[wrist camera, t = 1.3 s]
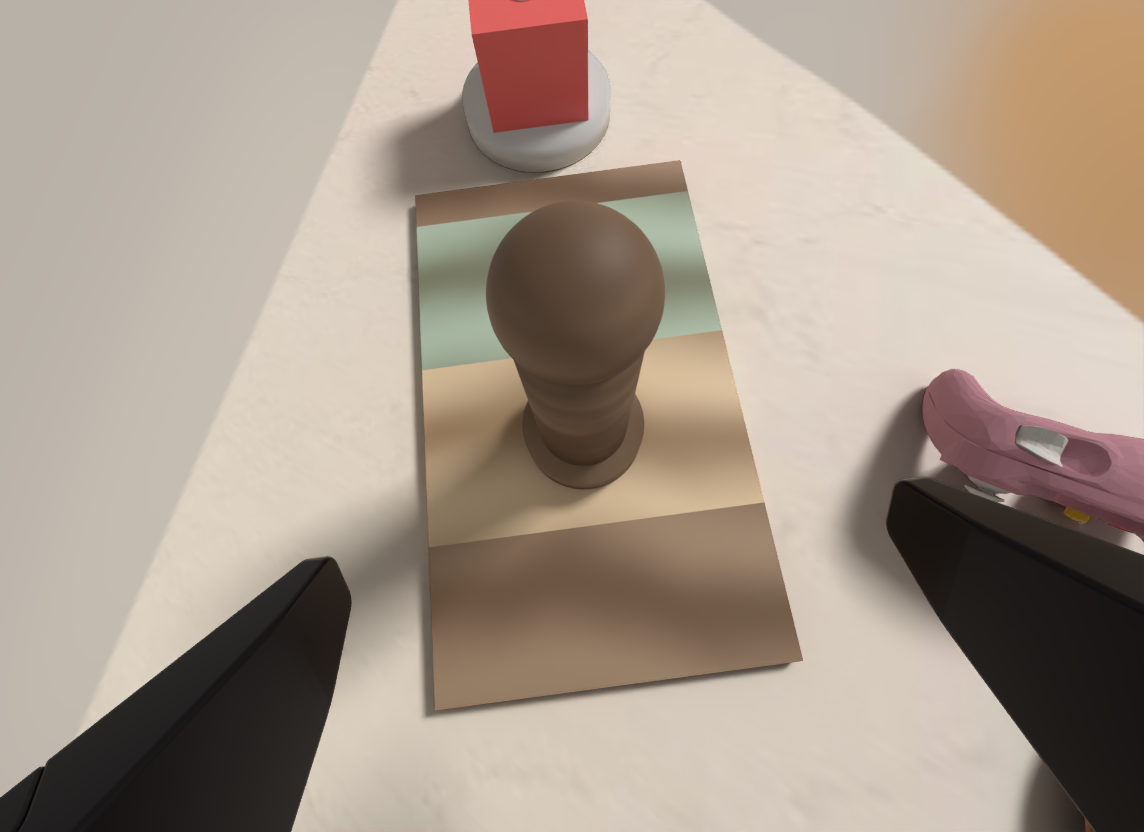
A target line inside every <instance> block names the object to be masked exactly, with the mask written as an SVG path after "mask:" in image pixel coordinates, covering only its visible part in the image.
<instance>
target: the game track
mask: <svg viewBox="0 0 1144 832" xmlns="http://www.w3.org/2000/svg"><path fill="white" fill-rule="evenodd" d="M415 201H416V227H417V253H418V279H419V305H420V332H421V358H422V384H423V410H424V436H425V463H426V489H427V515H428V541H429V567H430V594H431V620H432V646H433V672H434V698H435V710H442V709H450V708H457V707H465V706H472V705H480V704H487V703H494V702H502V701H509V700H517V699H524V698H531V697H539V696H546V695H554V694H561V693H568V692H576V691H583V690H591V689H598V688H606V687H613V686H620V685H628V684H635V683H643V682H650V681H657V680H665V679H672V678H680V677H687V676H695V675H702V674H709V673H717V672H724V671H732V670H739V669H746V668H754V667H761V666H769V665H776V664H784V663H791V662H798V661H803V658H802V654H801V650H800V646H799V642H798V638H797V634H796V630H795V626H794V622H793V617H792V613H791V609H790V605H789V601H788V597H787V593H786V589H785V585H784V581H783V577H782V573H781V569H780V564H779V560H778V556H777V552H776V548H775V544H774V540H773V536H772V532H771V528H770V524H769V520H768V516H767V512H766V507H765V503H764V499H763V495H762V491H761V487H760V483H759V479H758V475H757V471H756V467H755V463H754V459H753V454H752V450H751V446H750V442H749V438H748V434H747V430H746V426H745V422H744V418H743V414H742V410H741V406H740V402H739V397H738V393H737V389H736V385H735V381H734V377H733V373H732V369H731V365H730V361H729V357H728V353H727V349H726V344H725V340H724V336H723V332H722V328H721V324H720V320H719V316H718V312H717V308H716V304H715V300H714V296H713V292H712V287H711V283H710V279H709V275H708V271H707V267H706V263H705V259H704V255H703V251H702V247H701V243H700V239H699V234H698V230H697V226H696V222H695V218H694V214H693V210H692V206H691V202H690V198H689V194H688V190H687V186H686V182H685V177H684V173H683V169H682V165H681V161H680V160H679V161H671V162H664V163H656V164H648V165H641V166H633V167H626V168H618V169H611V170H603V171H596V172H588V173H581V174H573V175H566V176H558V177H551V178H543V179H536V180H528V181H521V182H513V183H506V184H498V185H490V186H483V187H475V188H468V189H460V190H453V191H445V192H438V193H430V194H423V195H415ZM565 201H588V202H593V203H598V204H601V205H604V206H607V207H610V208H612V209H614V210H616V211H618V212H619V213H621V214H623V215H624V216H626V217H627V218H628V219H630V220H631V221H632V222H634V223H635V224H636V225H637V226H638V227H639V228H640V229H641V230H642V231H643V233H644V234H645V235H646V237H647V238H648V239H649V241H650V242H651V244H652V245H653V247H654V249H655V251H656V253H657V256H658V258H659V261H660V263H661V266H662V270H663V275H664V282H665V304H664V311H663V315H662V320H661V322H660V325H659V327H658V330H657V332H656V335H655V337H654V338H653V340H652V342H651V344H650V345H649V346H648V348H647V349H646V350H645V353H644V357H643V362H642V366H641V370H640V375H639V379H638V383H637V388H636V392H635V394H636V396H637V398H638V400H639V402H640V404H641V407H642V410H643V415H644V434H643V439H642V442H641V445H640V448H639V450H638V453H637V456H636V458H635V460H634V462H633V463H632V465H631V466H630V467H629V469H628V470H627V471H626V472H625V473H624V474H623V475H622V476H621V477H619V478H618V479H617V480H615V481H613V482H612V483H610V484H607V485H605V486H602V487H599V488H594V489H573V488H569V487H565V486H563V485H560V484H558V483H556V482H554V481H552V480H551V479H550V478H548V477H547V476H546V475H545V474H544V473H543V472H542V471H541V470H540V469H539V468H538V467H537V465H536V464H535V462H534V460H533V459H532V457H531V455H530V453H529V451H528V448H527V446H526V444H525V440H524V436H523V429H522V421H523V414H524V410H525V407H526V404H527V402H528V399H527V396H526V393H525V390H524V388H523V385H522V382H521V379H520V377H519V374H518V371H517V368H516V366H515V363H514V360H513V359H512V358H511V357H510V356H509V354H508V353H507V352H506V351H505V350H504V348H503V347H502V345H501V344H500V342H499V340H498V339H497V337H496V335H495V333H494V330H493V328H492V326H491V323H490V319H489V315H488V311H487V305H486V281H487V276H488V271H489V267H490V264H491V261H492V258H493V255H494V254H495V252H496V250H497V248H498V246H499V244H500V242H501V241H502V239H503V238H504V237H505V235H506V234H507V233H508V232H509V231H510V230H511V228H512V227H513V226H514V225H516V224H517V223H518V222H519V221H520V220H521V219H523V218H524V217H525V216H527V215H528V214H530V213H531V212H533V211H535V210H537V209H539V208H542V207H544V206H547V205H550V204H554V203H558V202H565Z"/></svg>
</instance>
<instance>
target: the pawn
mask: <svg viewBox="0 0 1144 832" xmlns="http://www.w3.org/2000/svg"><path fill="white" fill-rule="evenodd" d="M664 304H665V282H664V275H663V270H662V266H661V263H660V261H659V258H658V256H657V253H656V251H655V249H654V247H653V245H652V244H651V242H650V241H649V239H648V238H647V237H646V235H645V234H644V233H643V231H642V230H641V229H640V228H639V227H638V226H637V225H636V224H635V223H634V222H632V221H631V220H630V219H628V218H627V217H626V216H624V215H623V214H621V213H619V212H618V211H616V210H614V209H612V208H610V207H607V206H604V205H601V204H598V203H593V202H588V201H565V202H558V203H554V204H550V205H547V206H544V207H542V208H539V209H537V210H535V211H533V212H531V213H530V214H528V215H527V216H525V217H524V218H523V219H521V220H520V221H519V222H518V223H517V224H516V225H514V226H513V227H512V228H511V230H510V231H509V232H508V233H507V234H506V235H505V237H504V238H503V239H502V241H501V242H500V244H499V246H498V248H497V250H496V252H495V254H494V255H493V258H492V261H491V264H490V267H489V271H488V276H487V281H486V305H487V311H488V315H489V319H490V323H491V326H492V328H493V330H494V333H495V335H496V337H497V339H498V340H499V342H500V344H501V345H502V347H503V348H504V350H505V351H506V352H507V353H508V354H509V356H510V357H511V358H512V359H513V360H514V363H515V366H516V368H517V371H518V374H519V377H520V379H521V382H522V385H523V388H524V390H525V393H526V396H527V399H528V402H527V404H526V407H525V410H524V414H523V421H522V429H523V436H524V440H525V444H526V446H527V448H528V451H529V453H530V455H531V457H532V459H533V460H534V462H535V464H536V465H537V467H538V468H539V469H540V470H541V471H542V472H543V473H544V474H545V475H546V476H547V477H548V478H550V479H551V480H552V481H554V482H556V483H558V484H560V485H563V486H565V487H569V488H573V489H594V488H599V487H602V486H605V485H607V484H610V483H612V482H613V481H615V480H617V479H618V478H619V477H621V476H622V475H623V474H624V473H625V472H626V471H627V470H628V469H629V467H630V466H631V465H632V463H633V462H634V460H635V458H636V456H637V453H638V450H639V448H640V445H641V442H642V439H643V434H644V415H643V410H642V407H641V404H640V402H639V400H638V398H637V396H636V394H635V392H636V388H637V383H638V379H639V375H640V370H641V366H642V362H643V357H644V353H645V350H646V349H647V348H648V346H649V345H650V344H651V342H652V340H653V338H654V337H655V335H656V332H657V330H658V327H659V325H660V322H661V320H662V315H663V311H664Z"/></svg>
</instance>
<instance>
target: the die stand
mask: <svg viewBox="0 0 1144 832" xmlns="http://www.w3.org/2000/svg"><path fill="white" fill-rule="evenodd" d="M469 11H470V22H471V32H472V38H473V43H474V47H475V52H476V56H477V61H478V63H477V64H476V65H475V66H474V67H473V68H472V70H471V71H470V73H469V75H468V76H467V78H466V81H465V84H464V87H463V92H462V102H463V108H464V112H465V115H466V119H467V123H468V126H469V130H470V133H471V136H472V139H473V141H474V142H475V144H476V146H477V147H478V148H479V150H480V151H481V152H482V153H483V154H484V155H485V156H486V157H488V158H489V159H491V160H492V161H494V162H495V163H497V164H499V165H501V166H504V167H507V168H509V169H513V170H517V171H524V172H547V171H552V170H557V169H560V168H564V167H567V166H569V165H571V164H574V163H576V162H577V161H579V160H581V159H583V158H584V157H585V156H587V155H588V154H589V153H590V152H592V151H593V150H594V149H595V148H596V147H597V145H598V144H599V143H600V142H601V140H602V138H603V137H604V135H605V133H606V130H607V128H608V124H609V118H610V94H611V87H610V80H609V77H608V74H607V72H606V69H605V67H604V66H603V65H602V63H601V62H600V61H599V60H598V59H597V57H596V56H595V55H593V54H592V53H591V52H590V51H588V18H587V13H586V8H585V3H584V0H469Z"/></svg>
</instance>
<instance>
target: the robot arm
mask: <svg viewBox="0 0 1144 832" xmlns="http://www.w3.org/2000/svg"><path fill="white" fill-rule="evenodd" d="M886 526H887V531H888V533H889V536H890V538H891V539H892V541H893V543H894V544H895V546H896V548H897V549H898V551H899V553H900V554H901V556H902V558H903V559H904V561H905V563H906V564H907V566H908V568H909V570H910V571H911V573H912V575H913V576H914V578H915V580H916V581H917V583H918V585H919V586H920V588H921V590H922V591H923V593H924V595H925V596H926V598H927V600H928V601H929V603H930V605H931V606H932V608H933V610H934V611H935V613H936V614H937V616H938V617H939V619H940V621H941V622H942V624H943V625H944V626H945V628H946V629H947V631H948V632H949V634H950V635H951V636H952V638H953V639H954V641H955V642H956V643H957V645H958V646H959V647H960V649H961V650H962V651H963V653H964V654H965V656H966V657H967V658H968V660H969V661H970V662H971V664H972V665H973V666H974V668H975V669H976V671H977V672H978V673H979V675H980V676H981V677H982V679H983V680H984V681H985V683H986V684H987V685H988V687H989V688H990V690H991V691H992V692H993V694H994V695H995V696H996V698H997V699H998V700H999V702H1000V703H1001V705H1002V706H1003V707H1004V709H1005V710H1006V711H1007V713H1008V714H1009V715H1010V717H1011V718H1012V720H1013V721H1014V722H1015V724H1016V725H1017V726H1018V728H1019V729H1020V730H1021V732H1022V733H1023V734H1024V736H1025V737H1026V739H1027V740H1028V741H1029V743H1030V744H1031V745H1032V747H1033V748H1034V749H1035V751H1036V752H1037V754H1038V755H1039V756H1040V758H1041V759H1042V760H1043V762H1044V763H1045V764H1046V766H1047V767H1048V769H1049V770H1050V771H1051V773H1052V774H1053V775H1054V777H1055V778H1056V779H1057V781H1058V782H1059V784H1060V785H1061V786H1062V788H1063V789H1064V790H1065V792H1066V793H1067V794H1068V796H1069V797H1070V798H1071V800H1072V801H1073V803H1074V804H1075V805H1076V807H1077V808H1078V809H1079V811H1080V812H1081V813H1082V815H1083V816H1084V818H1085V819H1086V820H1087V822H1088V823H1089V824H1090V826H1091V827H1092V828H1093V830H1094V831H1095V832H1144V555H1142V554H1140V553H1137V552H1134V551H1131V550H1129V549H1126V548H1123V547H1120V546H1117V545H1115V544H1112V543H1109V542H1106V541H1103V540H1101V539H1098V538H1095V537H1092V536H1090V535H1087V534H1084V533H1081V532H1078V531H1076V530H1073V529H1070V528H1067V527H1064V526H1062V525H1059V524H1056V523H1053V522H1051V521H1048V520H1045V519H1042V518H1039V517H1037V516H1034V515H1031V514H1028V513H1025V512H1023V511H1020V510H1017V509H1014V508H1012V507H1009V506H1006V505H1003V504H1000V503H998V502H995V501H992V500H989V499H987V498H984V497H981V496H978V495H975V494H973V493H970V492H967V491H964V490H961V489H959V488H956V487H953V486H950V485H948V484H945V483H942V482H939V481H936V480H934V479H931V478H928V477H916V478H909V479H902V480H899V481H897V482H896V484H895V485H894V487H893V491H892V496H891V500H890V505H889V510H888V514H887V519H886ZM350 611H351V595H350V591H349V589H348V587H347V584H346V582H345V580H344V578H343V575H342V573H341V571H340V568H339V566H338V564H337V562H336V560H335V559H334V558H332V557H329V556H326V557H318V558H310V559H306V560H304V561H302V562H301V563H299V564H298V565H297V566H296V567H294V568H293V569H292V570H290V571H289V572H288V573H287V574H285V575H284V576H283V577H282V578H280V579H279V580H278V581H276V582H275V583H274V584H273V585H271V586H270V587H269V588H267V589H266V590H265V591H264V592H262V593H261V594H260V595H259V596H257V597H256V598H255V599H253V600H252V601H251V602H250V603H248V604H247V605H246V606H244V607H243V608H242V609H241V610H239V611H238V612H237V613H236V614H234V615H233V616H232V617H230V618H229V619H228V620H227V621H225V622H224V623H223V624H221V625H220V626H219V627H218V628H216V629H215V630H214V631H213V632H211V633H210V634H209V635H207V636H206V637H205V638H204V639H202V640H201V641H200V642H198V643H197V644H196V645H195V646H193V647H192V648H191V649H190V650H188V651H187V652H186V653H184V654H183V655H182V656H181V657H179V658H178V659H177V660H175V661H174V662H173V663H172V664H170V665H169V666H168V667H167V668H165V669H164V670H163V671H161V672H160V673H159V674H158V675H156V676H155V677H154V678H152V679H151V680H150V681H149V682H147V683H146V684H145V685H144V686H142V687H141V688H140V689H138V690H137V691H136V692H135V693H133V694H132V695H131V696H129V697H128V698H127V699H126V700H124V701H123V702H122V703H121V704H119V705H118V706H117V707H115V708H114V709H113V710H112V711H110V712H109V713H108V714H106V715H105V716H104V717H103V718H101V719H100V720H99V721H98V722H96V723H95V724H94V725H92V726H91V727H90V728H89V729H87V730H86V731H85V732H83V733H82V734H81V735H80V736H78V737H77V738H76V739H75V740H73V741H72V742H71V743H69V744H68V745H67V746H66V747H64V748H63V749H62V750H60V751H59V752H58V753H57V754H55V755H54V756H53V757H52V758H50V759H49V760H48V761H47V763H46V765H45V767H39V768H37V769H36V770H35V771H33V772H32V773H31V774H30V775H28V776H27V777H26V778H25V779H23V780H22V781H21V782H20V783H18V784H17V785H16V786H14V787H13V788H12V789H11V790H9V791H8V792H7V793H6V794H4V795H3V796H2V797H0V832H291V831H292V827H293V824H294V821H295V818H296V815H297V812H298V808H299V805H300V802H301V799H302V796H303V792H304V789H305V786H306V783H307V780H308V777H309V773H310V770H311V767H312V764H313V761H314V757H315V754H316V751H317V748H318V745H319V742H320V738H321V735H322V732H323V729H324V726H325V722H326V719H327V716H328V712H329V709H330V705H331V702H332V697H333V693H334V689H335V684H336V679H337V674H338V670H339V665H340V660H341V655H342V650H343V645H344V640H345V635H346V630H347V626H348V621H349V616H350Z"/></svg>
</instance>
